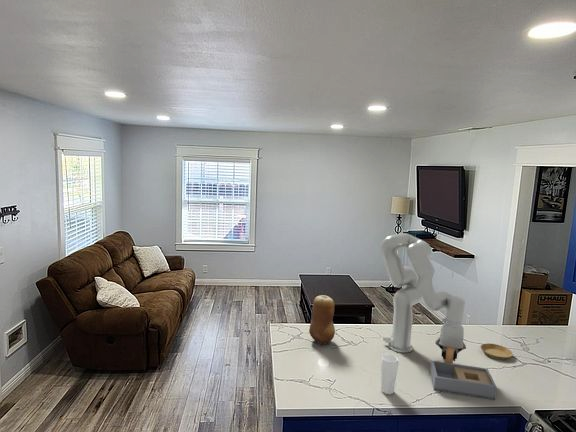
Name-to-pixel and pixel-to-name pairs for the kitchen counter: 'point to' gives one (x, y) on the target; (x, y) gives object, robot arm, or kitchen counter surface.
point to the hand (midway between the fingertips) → (448, 358)
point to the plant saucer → (496, 351)
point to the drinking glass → (388, 373)
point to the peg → (449, 355)
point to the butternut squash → (322, 320)
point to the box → (462, 380)
